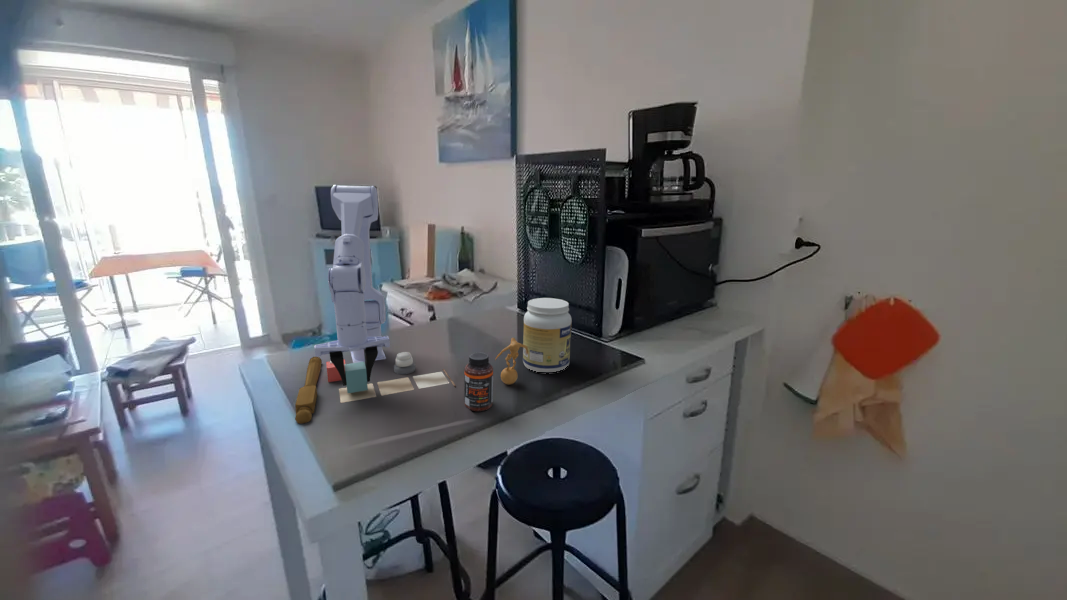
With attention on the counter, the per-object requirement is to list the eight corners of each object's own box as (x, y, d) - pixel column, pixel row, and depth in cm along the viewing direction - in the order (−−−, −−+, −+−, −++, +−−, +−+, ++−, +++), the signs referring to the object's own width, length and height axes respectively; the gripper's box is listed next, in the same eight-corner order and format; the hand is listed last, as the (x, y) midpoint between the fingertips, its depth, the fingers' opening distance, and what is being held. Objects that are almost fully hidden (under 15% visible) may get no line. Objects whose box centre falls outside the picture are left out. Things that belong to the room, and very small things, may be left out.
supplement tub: (566, 377, 104) (569, 310, 100) (517, 372, 107) (518, 306, 102) (571, 358, 116) (575, 298, 112) (528, 354, 118) (529, 294, 114)
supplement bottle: (466, 414, 87) (465, 362, 84) (462, 400, 92) (461, 351, 89) (495, 410, 88) (495, 359, 85) (490, 397, 94) (490, 349, 91)
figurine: (520, 377, 104) (521, 330, 101) (532, 387, 99) (534, 338, 96) (489, 383, 100) (489, 335, 97) (500, 394, 95) (500, 343, 92)
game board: (333, 389, 96) (333, 386, 95) (444, 370, 107) (444, 368, 106) (336, 409, 87) (335, 407, 87) (455, 387, 98) (455, 385, 98)
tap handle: (321, 354, 108) (311, 411, 81) (322, 366, 108) (312, 426, 81) (308, 356, 106) (292, 414, 80) (309, 367, 107) (294, 429, 80)
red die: (327, 377, 101) (326, 360, 100) (346, 374, 103) (344, 357, 102) (328, 384, 98) (326, 366, 97) (347, 381, 99) (345, 363, 98)
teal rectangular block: (346, 385, 94) (344, 364, 92) (365, 382, 95) (364, 361, 94) (347, 393, 90) (345, 371, 89) (367, 389, 92) (366, 368, 91)
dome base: (392, 369, 106) (392, 363, 106) (413, 366, 108) (412, 360, 108) (396, 377, 102) (395, 370, 101) (417, 374, 104) (416, 367, 104)
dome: (394, 361, 105) (393, 352, 105) (411, 359, 107) (410, 350, 107) (397, 367, 102) (396, 358, 101) (414, 365, 104) (413, 356, 103)
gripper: (312, 332, 82) (319, 396, 86) (390, 323, 89) (394, 383, 92) (312, 321, 88) (318, 381, 92) (385, 314, 95) (389, 370, 98)
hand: (356, 381), depth 92 cm, fingers closed on teal rectangular block, 4 cm apart
